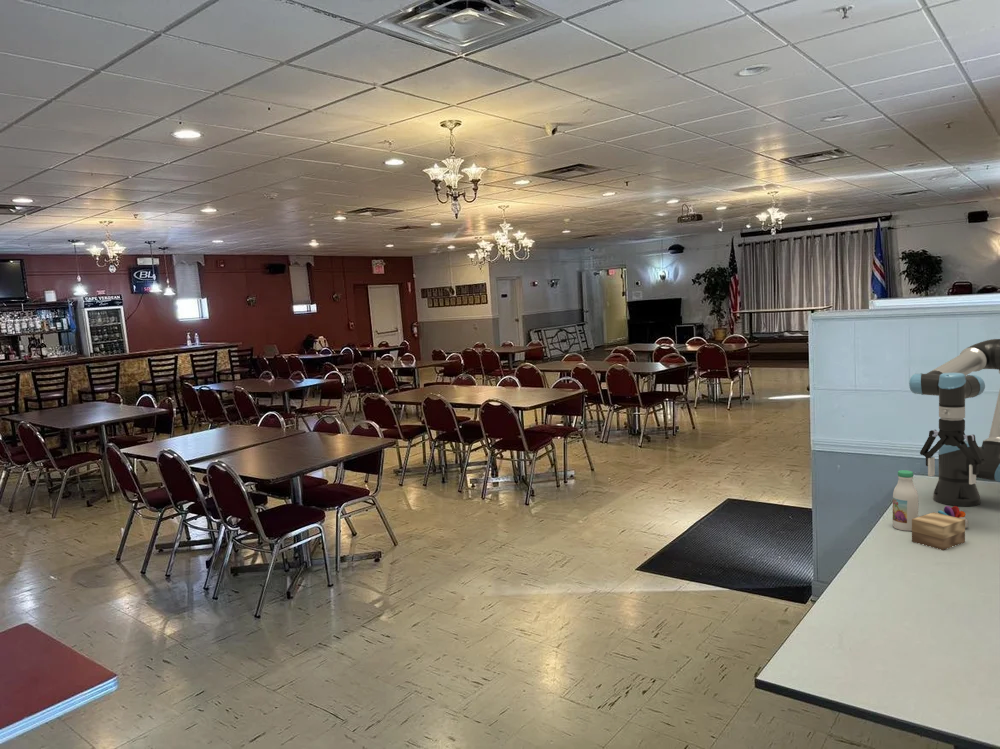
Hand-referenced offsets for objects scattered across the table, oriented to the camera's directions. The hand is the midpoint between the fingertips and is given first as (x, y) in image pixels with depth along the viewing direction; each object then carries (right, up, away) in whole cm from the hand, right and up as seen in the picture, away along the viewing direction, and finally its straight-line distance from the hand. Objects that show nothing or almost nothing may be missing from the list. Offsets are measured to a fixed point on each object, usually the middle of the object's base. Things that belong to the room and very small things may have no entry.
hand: (951, 479), depth 239 cm
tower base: (-12, -19, -12) cm, 25 cm away
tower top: (-12, -15, -12) cm, 23 cm away
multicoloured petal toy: (+1, -17, +2) cm, 17 cm away
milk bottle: (-14, -17, +3) cm, 22 cm away
